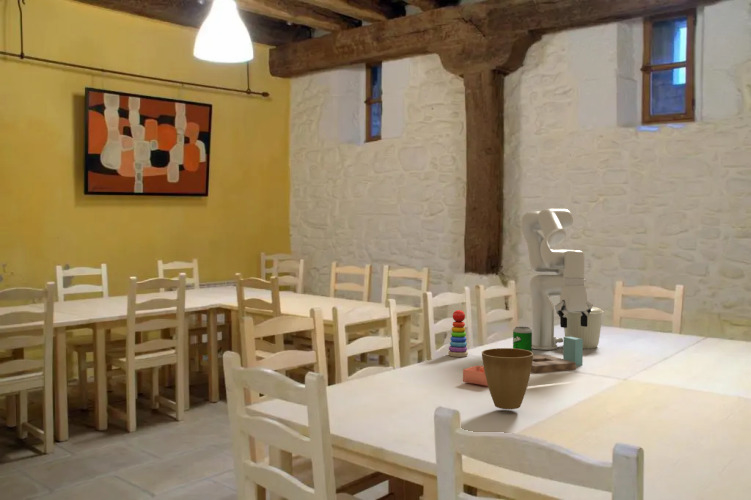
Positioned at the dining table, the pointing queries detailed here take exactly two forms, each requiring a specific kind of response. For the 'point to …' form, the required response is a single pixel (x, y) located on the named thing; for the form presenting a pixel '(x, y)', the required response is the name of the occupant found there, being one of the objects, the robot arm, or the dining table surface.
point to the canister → (585, 333)
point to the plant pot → (507, 375)
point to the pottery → (475, 375)
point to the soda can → (522, 338)
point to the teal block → (573, 350)
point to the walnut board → (550, 364)
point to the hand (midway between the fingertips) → (573, 326)
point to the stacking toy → (458, 336)
